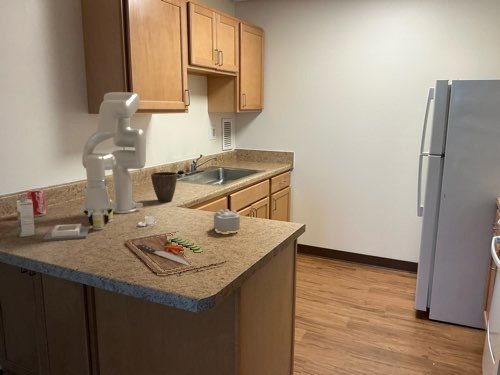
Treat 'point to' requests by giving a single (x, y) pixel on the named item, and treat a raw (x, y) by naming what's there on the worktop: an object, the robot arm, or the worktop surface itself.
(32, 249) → the worktop surface
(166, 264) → the chopping board
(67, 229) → the frame
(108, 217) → the supplement bottle
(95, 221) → the supplement bottle
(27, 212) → the syrup box
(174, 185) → the plant pot
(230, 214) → the lumpy-topped squat cylinder
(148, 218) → the white looped piece
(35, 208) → the soda can
